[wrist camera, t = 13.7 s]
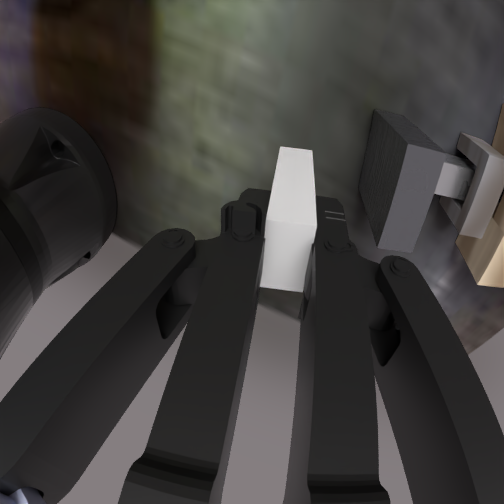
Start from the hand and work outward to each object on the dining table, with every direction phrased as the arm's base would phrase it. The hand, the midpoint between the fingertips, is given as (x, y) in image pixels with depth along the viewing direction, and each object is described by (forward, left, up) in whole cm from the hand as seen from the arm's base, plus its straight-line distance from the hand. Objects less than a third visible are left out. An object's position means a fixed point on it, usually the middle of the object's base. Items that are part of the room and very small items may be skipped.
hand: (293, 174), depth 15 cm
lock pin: (+9, 0, -5) cm, 10 cm away
